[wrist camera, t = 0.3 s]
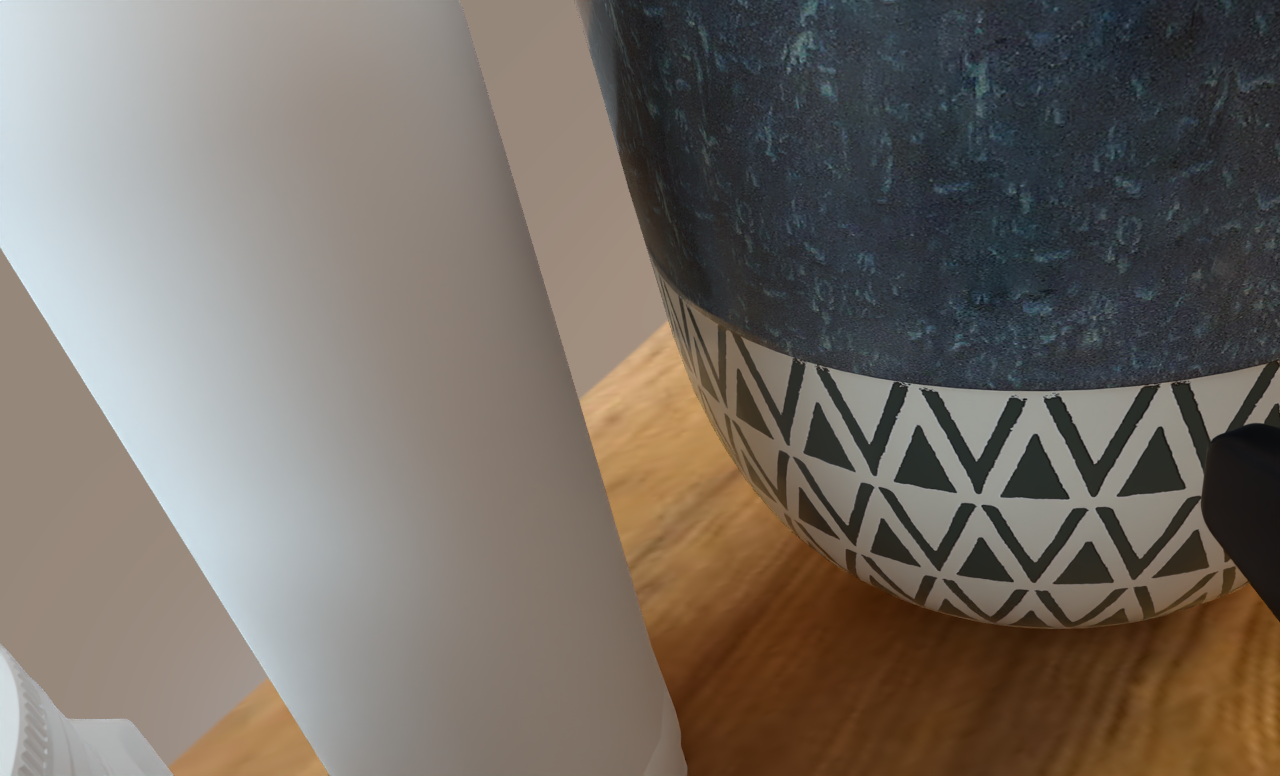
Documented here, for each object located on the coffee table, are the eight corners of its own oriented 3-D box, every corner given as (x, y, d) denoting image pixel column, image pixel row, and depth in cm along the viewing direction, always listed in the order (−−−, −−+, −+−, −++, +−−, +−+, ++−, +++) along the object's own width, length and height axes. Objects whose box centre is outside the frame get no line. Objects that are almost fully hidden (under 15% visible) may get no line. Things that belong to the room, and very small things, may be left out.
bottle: (381, 733, 30) (-451, -765, 13) (644, 639, 31) (187, -888, 14) (403, 1014, 24) (-1183, -1216, 7) (736, 888, 25) (87, -1400, 7)
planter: (1633, 654, 25) (2246, -550, 12) (837, 926, 23) (640, -116, 11) (1132, 274, 41) (1184, -420, 28) (641, 424, 39) (471, -234, 27)
